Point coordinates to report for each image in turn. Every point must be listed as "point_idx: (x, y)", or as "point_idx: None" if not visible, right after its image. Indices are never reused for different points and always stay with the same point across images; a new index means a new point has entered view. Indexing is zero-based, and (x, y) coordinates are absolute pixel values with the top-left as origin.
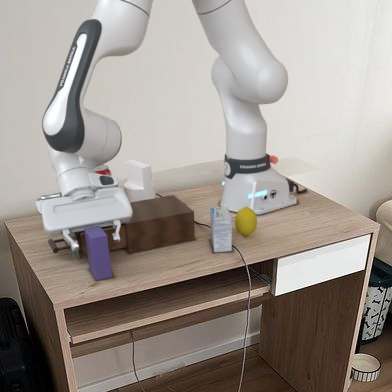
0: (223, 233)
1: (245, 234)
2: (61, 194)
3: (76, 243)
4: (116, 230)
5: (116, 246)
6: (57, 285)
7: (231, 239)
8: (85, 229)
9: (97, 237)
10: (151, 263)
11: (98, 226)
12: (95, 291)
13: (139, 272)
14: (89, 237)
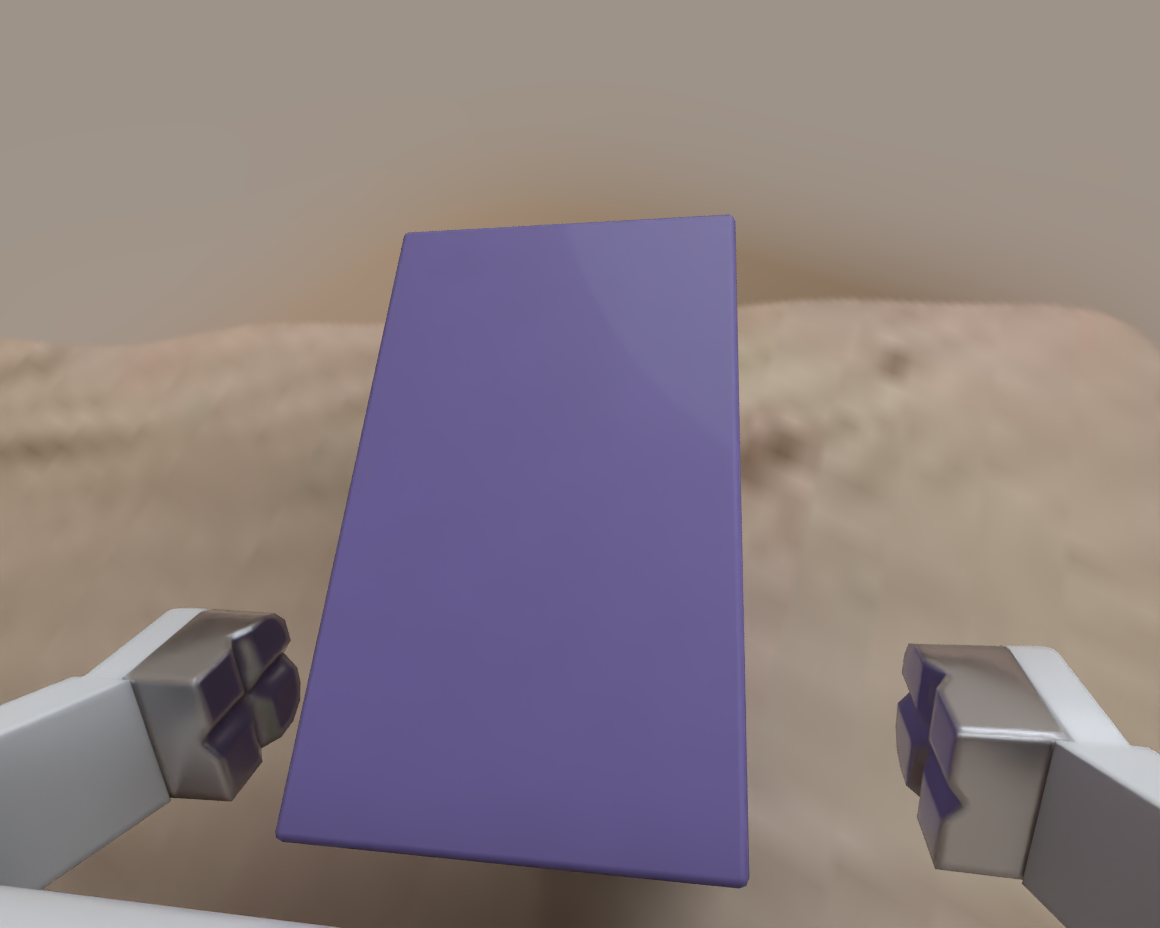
0: None
1: None
2: None
3: (973, 682)
4: (68, 703)
5: None
6: (1147, 614)
7: None
8: (712, 786)
9: (594, 225)
10: (145, 616)
11: (311, 810)
12: (781, 348)
13: (324, 500)
14: (736, 322)
